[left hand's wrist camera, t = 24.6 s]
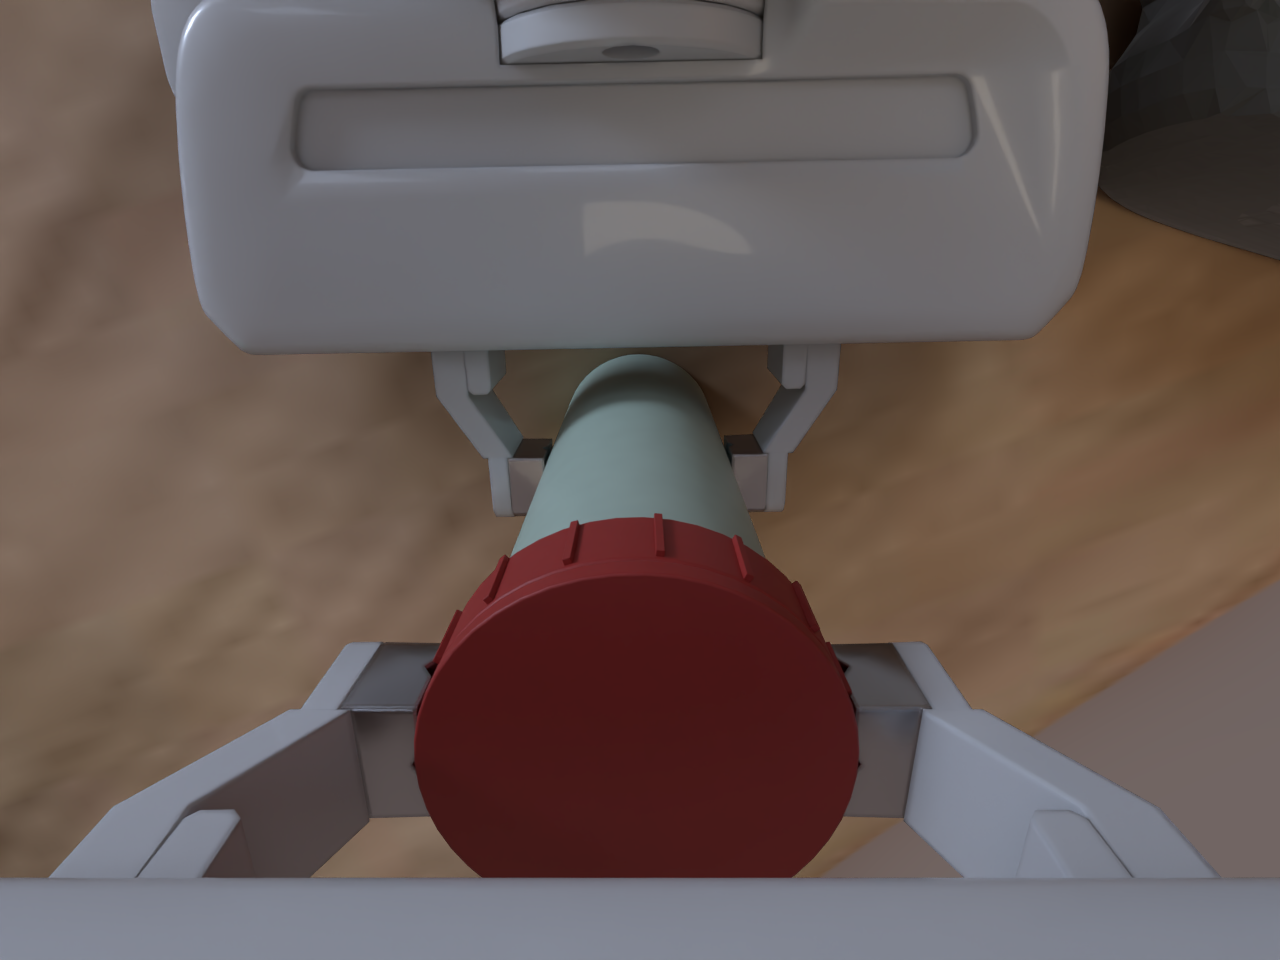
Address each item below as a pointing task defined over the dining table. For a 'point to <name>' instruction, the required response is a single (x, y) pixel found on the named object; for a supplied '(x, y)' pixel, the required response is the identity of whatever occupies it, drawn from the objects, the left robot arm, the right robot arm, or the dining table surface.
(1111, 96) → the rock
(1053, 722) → the dining table surface
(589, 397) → the jar
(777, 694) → the lid
